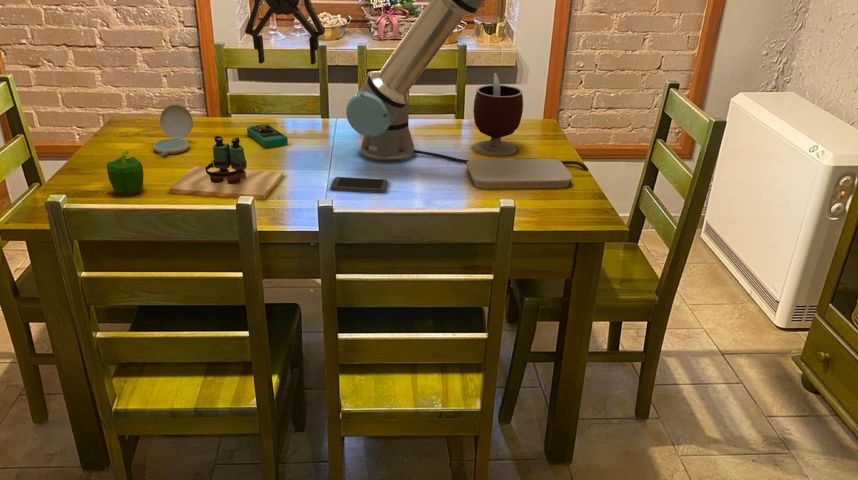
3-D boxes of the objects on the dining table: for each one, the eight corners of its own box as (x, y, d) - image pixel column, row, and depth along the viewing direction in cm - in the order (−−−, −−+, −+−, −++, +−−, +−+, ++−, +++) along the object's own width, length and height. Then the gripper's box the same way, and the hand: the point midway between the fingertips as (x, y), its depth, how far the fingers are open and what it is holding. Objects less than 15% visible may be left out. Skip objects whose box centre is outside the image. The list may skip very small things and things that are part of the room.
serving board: (282, 176, 192) (282, 172, 192) (264, 200, 178) (263, 195, 178) (195, 170, 195) (194, 166, 194) (170, 193, 181) (169, 188, 181)
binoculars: (197, 148, 177) (214, 132, 185) (204, 187, 183) (220, 170, 192) (232, 151, 176) (247, 135, 184) (238, 191, 182) (252, 173, 190)
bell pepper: (131, 200, 177) (124, 160, 172) (104, 194, 179) (96, 155, 175) (154, 188, 184) (148, 150, 179) (128, 183, 186) (121, 145, 181)
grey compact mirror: (193, 104, 211) (175, 120, 197) (197, 141, 216) (180, 158, 203) (159, 103, 211) (138, 118, 198) (164, 140, 216) (145, 157, 203)
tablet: (464, 167, 201) (465, 159, 200) (557, 166, 203) (558, 158, 202) (474, 189, 187) (474, 181, 186) (574, 188, 189) (575, 180, 188)
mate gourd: (523, 156, 209) (530, 86, 199) (474, 157, 208) (479, 86, 199) (512, 139, 223) (518, 72, 213) (467, 139, 222) (471, 72, 212)
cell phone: (335, 179, 191) (334, 176, 190) (388, 182, 190) (388, 179, 189) (329, 189, 184) (329, 187, 184) (384, 192, 183) (384, 189, 183)
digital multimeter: (269, 131, 225) (268, 122, 224) (288, 145, 214) (288, 135, 213) (246, 135, 222) (245, 125, 221) (265, 149, 211) (264, 139, 210)
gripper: (226, -25, 178) (236, 65, 188) (327, -24, 176) (332, 66, 186) (235, -28, 184) (244, 58, 195) (333, -27, 182) (337, 60, 192)
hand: (287, 62), depth 190 cm, fingers open, 13 cm apart
